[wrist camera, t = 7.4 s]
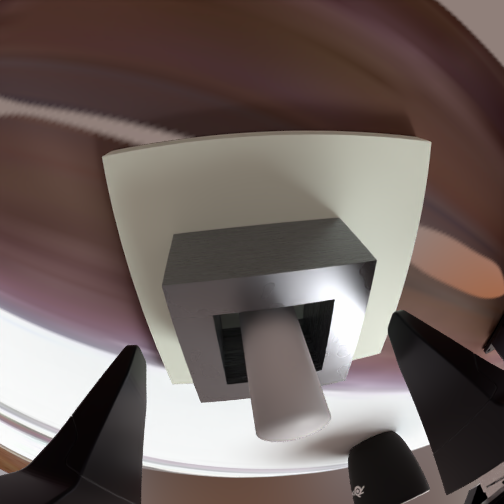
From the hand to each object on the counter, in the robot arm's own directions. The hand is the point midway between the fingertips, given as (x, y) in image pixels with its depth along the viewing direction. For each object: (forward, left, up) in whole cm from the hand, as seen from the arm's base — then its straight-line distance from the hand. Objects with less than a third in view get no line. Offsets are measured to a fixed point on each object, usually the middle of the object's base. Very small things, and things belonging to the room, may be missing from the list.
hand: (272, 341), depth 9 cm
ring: (0, 0, -3) cm, 3 cm away
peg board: (-1, 0, -4) cm, 4 cm away
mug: (-14, +30, -4) cm, 33 cm away
